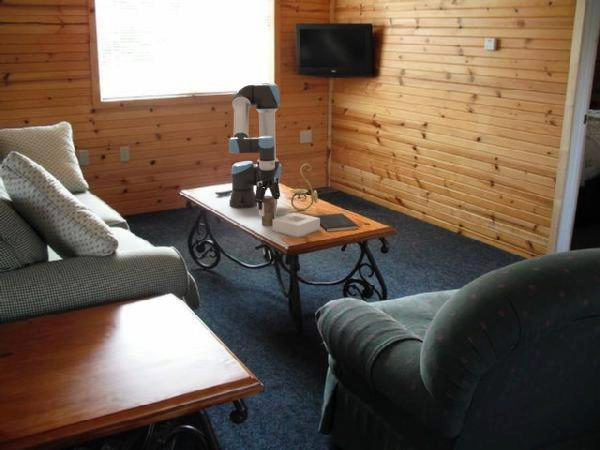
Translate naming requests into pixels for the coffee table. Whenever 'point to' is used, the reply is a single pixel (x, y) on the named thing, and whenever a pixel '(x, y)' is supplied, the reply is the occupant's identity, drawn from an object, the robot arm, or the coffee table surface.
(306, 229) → the grey well block
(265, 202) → the walnut peg
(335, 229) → the hardcover book
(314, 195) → the wall sconce
